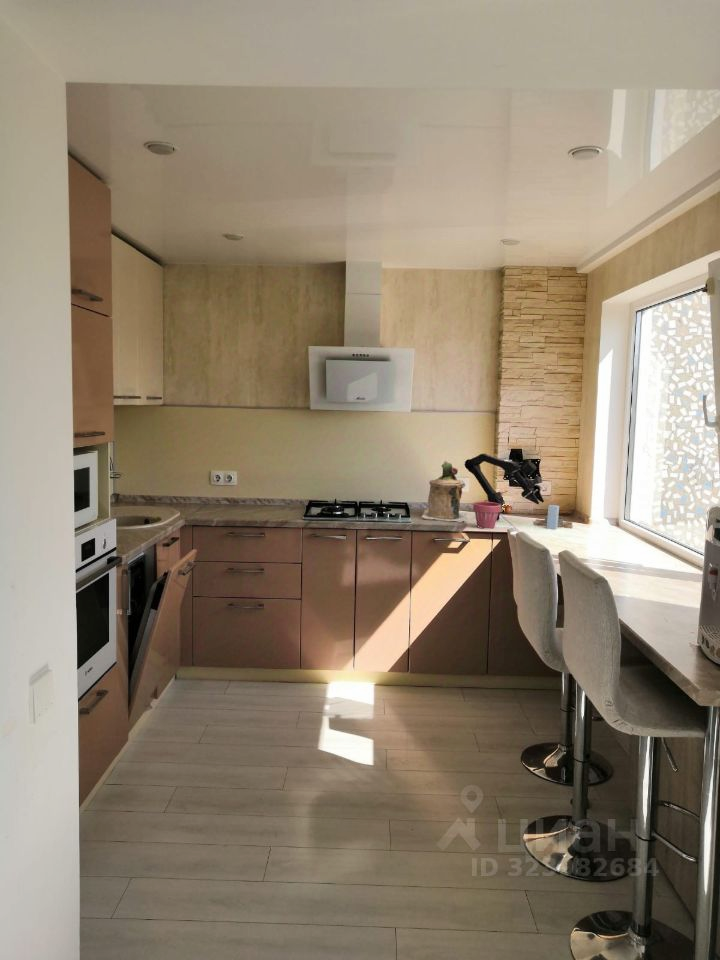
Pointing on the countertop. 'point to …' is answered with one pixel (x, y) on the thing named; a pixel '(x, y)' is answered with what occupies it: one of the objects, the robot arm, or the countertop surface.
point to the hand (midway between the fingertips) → (541, 503)
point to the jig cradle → (560, 522)
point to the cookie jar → (445, 497)
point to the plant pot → (486, 513)
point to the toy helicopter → (507, 508)
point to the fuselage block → (552, 517)
